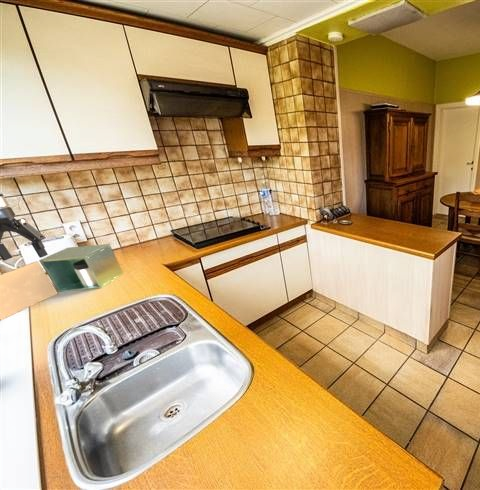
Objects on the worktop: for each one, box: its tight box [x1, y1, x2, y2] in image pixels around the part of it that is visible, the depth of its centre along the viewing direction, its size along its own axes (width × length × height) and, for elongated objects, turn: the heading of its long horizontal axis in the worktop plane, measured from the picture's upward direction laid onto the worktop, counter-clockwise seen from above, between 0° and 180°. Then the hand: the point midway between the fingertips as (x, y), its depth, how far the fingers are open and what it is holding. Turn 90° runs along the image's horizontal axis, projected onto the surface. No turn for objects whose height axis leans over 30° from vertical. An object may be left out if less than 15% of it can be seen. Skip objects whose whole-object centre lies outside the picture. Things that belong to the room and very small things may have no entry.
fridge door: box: [0, 261, 59, 321], centre depth 118 cm, size 6×20×18 cm, turn 172°
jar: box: [73, 259, 97, 286], centre depth 135 cm, size 9×8×12 cm
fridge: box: [38, 243, 124, 293], centre depth 135 cm, size 15×20×18 cm
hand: (26, 257), depth 111 cm, fingers open, 13 cm apart
